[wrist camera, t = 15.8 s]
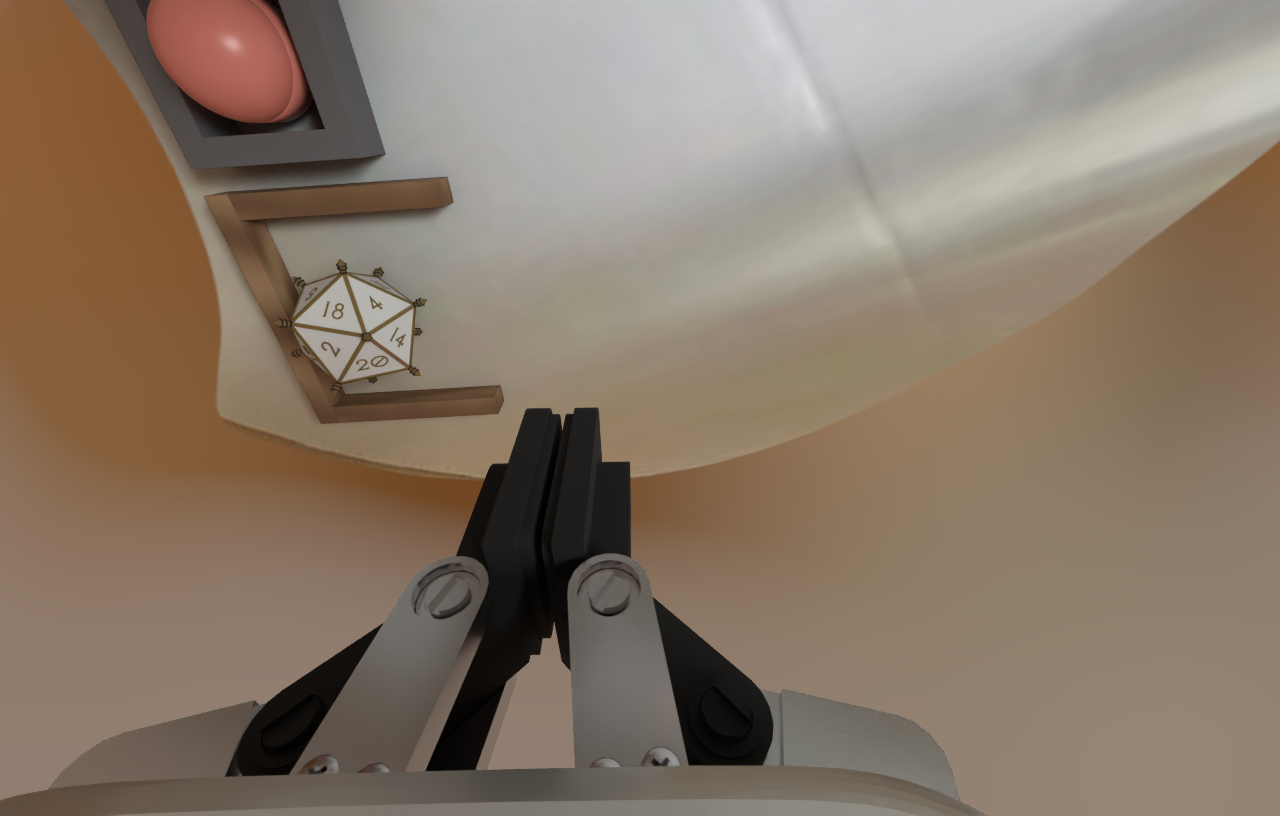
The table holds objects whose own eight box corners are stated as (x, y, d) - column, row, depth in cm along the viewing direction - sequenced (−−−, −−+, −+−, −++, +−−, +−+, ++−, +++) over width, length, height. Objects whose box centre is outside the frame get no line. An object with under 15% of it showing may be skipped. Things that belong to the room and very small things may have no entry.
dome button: (187, -4, 25) (74, -35, 20) (296, -13, 25) (210, -45, 20) (245, 125, 28) (160, 127, 23) (341, 118, 28) (277, 119, 23)
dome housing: (127, -52, 24) (67, -72, 21) (316, -67, 24) (278, -89, 21) (230, 164, 29) (191, 169, 27) (385, 154, 29) (361, 157, 27)
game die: (419, 274, 37) (453, 279, 29) (411, 378, 38) (441, 409, 31) (277, 248, 31) (272, 245, 24) (274, 371, 33) (269, 406, 25)
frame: (227, 191, 30) (203, 196, 28) (447, 176, 30) (436, 180, 28) (334, 410, 39) (321, 423, 38) (504, 400, 39) (498, 413, 37)
